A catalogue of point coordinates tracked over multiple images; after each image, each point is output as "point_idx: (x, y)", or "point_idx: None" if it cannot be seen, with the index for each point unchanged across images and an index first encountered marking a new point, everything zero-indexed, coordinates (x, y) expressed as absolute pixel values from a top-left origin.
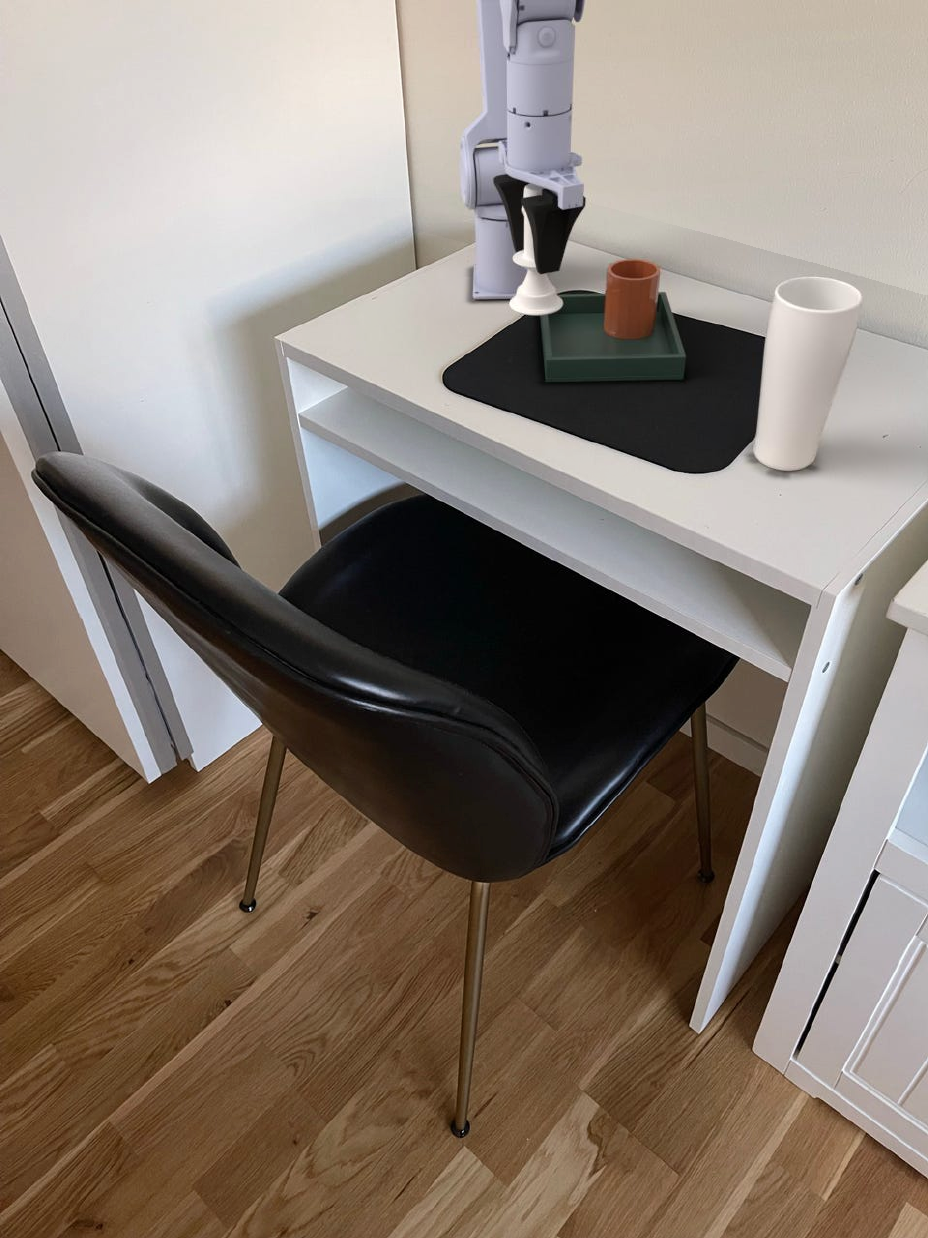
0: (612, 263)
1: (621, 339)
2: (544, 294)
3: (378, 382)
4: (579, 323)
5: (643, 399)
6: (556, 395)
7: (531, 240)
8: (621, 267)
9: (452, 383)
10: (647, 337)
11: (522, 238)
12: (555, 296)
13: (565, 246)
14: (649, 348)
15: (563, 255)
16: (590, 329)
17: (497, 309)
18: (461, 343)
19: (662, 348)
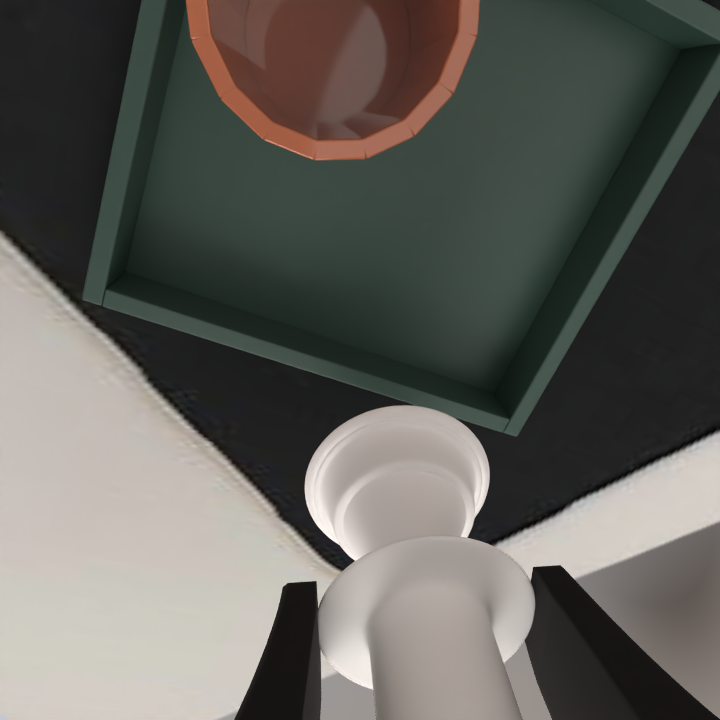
0: (218, 83)
1: None
2: (466, 514)
3: (330, 671)
4: (228, 194)
5: (706, 216)
6: (561, 402)
7: None
8: (215, 19)
9: None
10: None
11: (317, 697)
12: (454, 461)
13: (641, 649)
14: (497, 49)
15: (601, 608)
16: (285, 180)
17: (24, 375)
18: (216, 511)
19: (520, 1)
